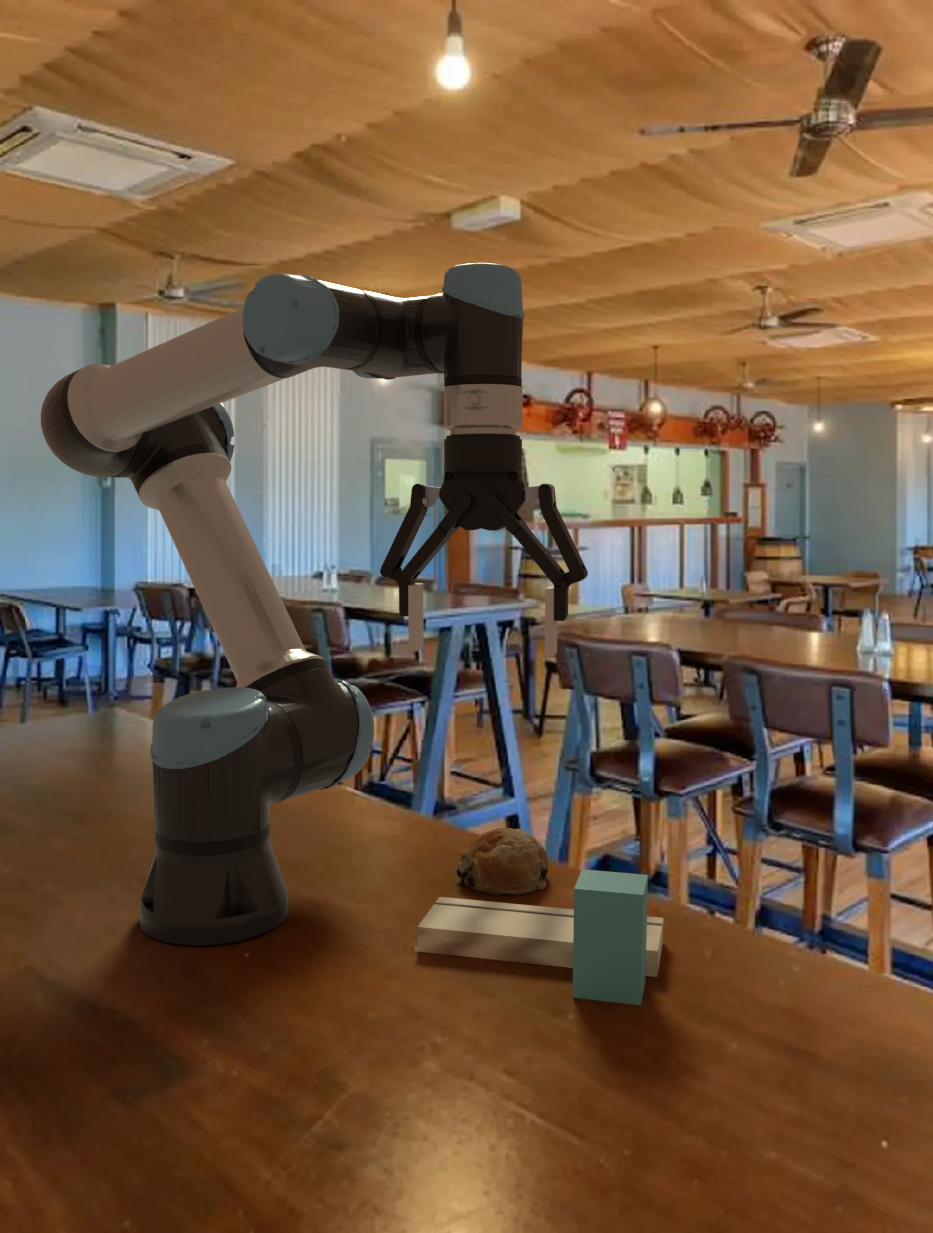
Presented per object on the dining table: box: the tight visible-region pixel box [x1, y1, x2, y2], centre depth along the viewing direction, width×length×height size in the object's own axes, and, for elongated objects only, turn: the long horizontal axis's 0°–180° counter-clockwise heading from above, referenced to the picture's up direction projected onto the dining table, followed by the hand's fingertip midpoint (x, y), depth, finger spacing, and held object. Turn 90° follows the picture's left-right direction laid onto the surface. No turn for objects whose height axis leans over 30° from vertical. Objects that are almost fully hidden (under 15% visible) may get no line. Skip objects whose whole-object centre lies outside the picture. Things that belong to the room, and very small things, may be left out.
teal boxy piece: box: [572, 868, 649, 1006], centre depth 101 cm, size 6×13×10 cm, turn 166°
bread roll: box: [456, 827, 549, 896], centre depth 124 cm, size 10×10×8 cm
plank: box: [417, 896, 664, 978], centre depth 106 cm, size 23×8×3 cm, turn 76°
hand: (482, 652), depth 106 cm, fingers open, 13 cm apart
